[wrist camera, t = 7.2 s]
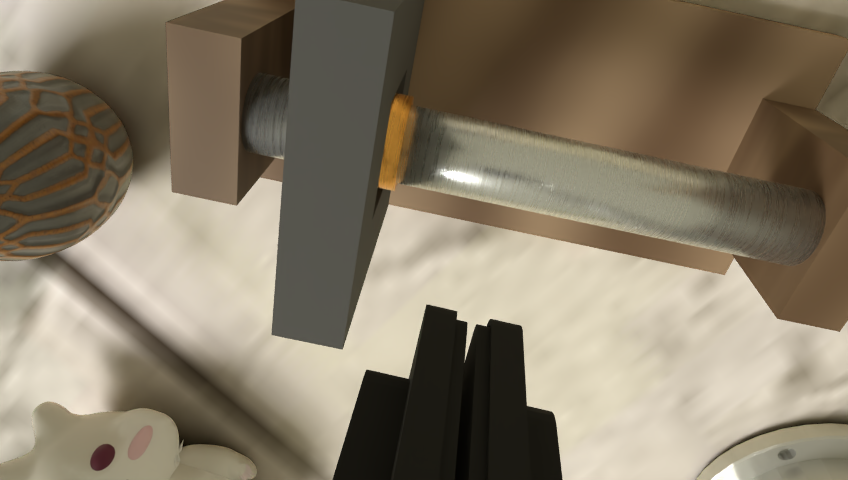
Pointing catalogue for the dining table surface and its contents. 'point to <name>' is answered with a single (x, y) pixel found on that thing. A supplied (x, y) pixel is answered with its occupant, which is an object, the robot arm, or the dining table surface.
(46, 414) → the cat figurine
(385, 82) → the collar
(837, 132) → the stand
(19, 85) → the vase
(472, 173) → the pipe
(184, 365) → the dining table surface
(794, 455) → the robot arm
